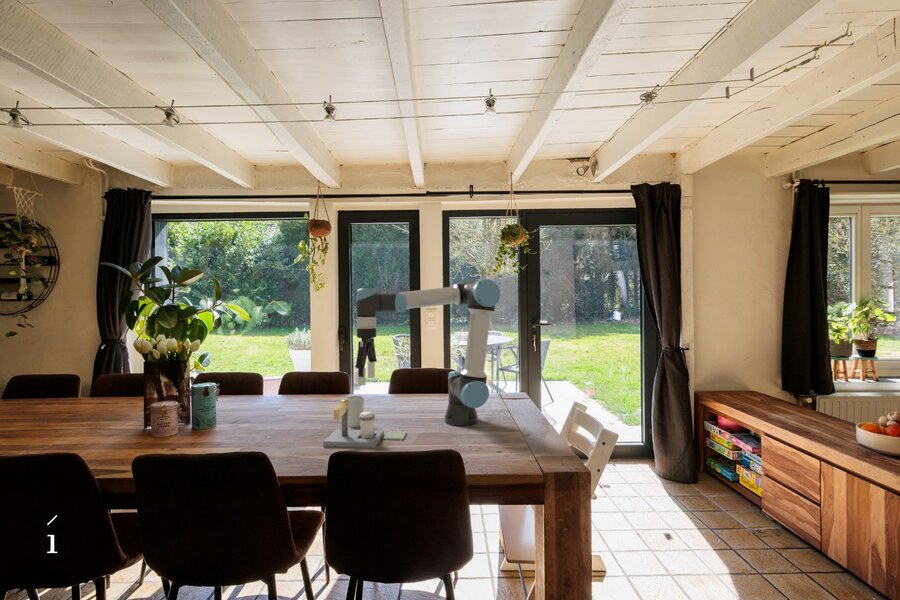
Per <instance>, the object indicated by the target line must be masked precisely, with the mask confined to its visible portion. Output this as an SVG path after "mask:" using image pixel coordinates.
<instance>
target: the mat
mask: <svg viewBox="0 0 900 600" xmlns="http://www.w3.org/2000/svg"><path fill="white" fill-rule="evenodd" d="M406 435H407V431H394V430H393V431H391V430H389V431H386V433H385V434H384V436H383V437H382V440H386V441H389V440H393V441H404V439H405V437H406Z"/></svg>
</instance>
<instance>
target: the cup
mask: <svg viewBox="0 0 900 600" xmlns="http://www.w3.org/2000/svg"><path fill="white" fill-rule="evenodd" d="M345 399H348V400H349V410H348V427H351V428H352V427H353V428H357V427H361V420H360V419H359V416H360V415H361V413H362V412H364V405H365V404H364V403H365V397H364V396H363V395H351V396H347V397H345Z"/></svg>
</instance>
